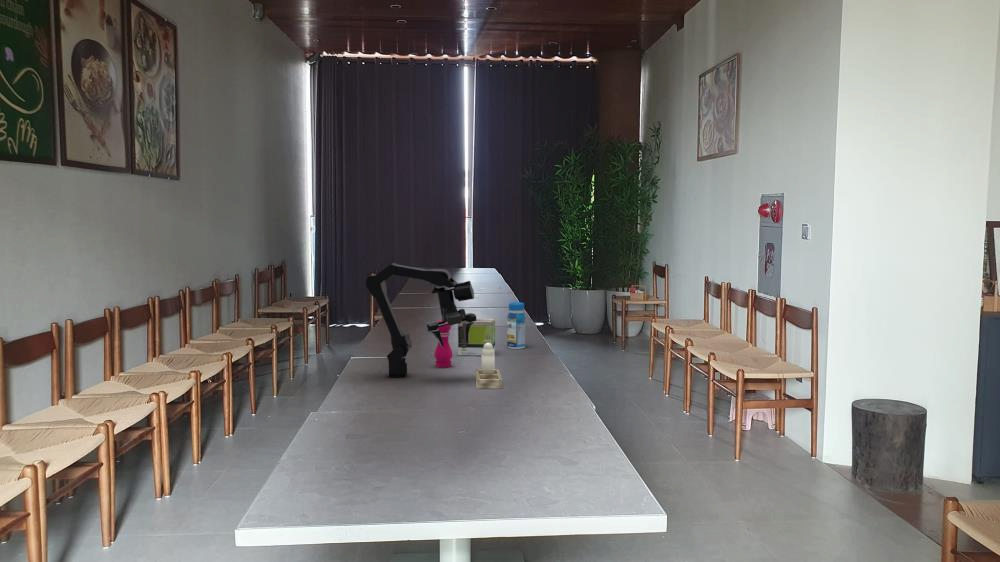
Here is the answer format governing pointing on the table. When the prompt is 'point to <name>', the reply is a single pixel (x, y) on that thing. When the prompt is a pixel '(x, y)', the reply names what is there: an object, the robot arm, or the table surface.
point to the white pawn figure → (487, 359)
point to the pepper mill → (443, 353)
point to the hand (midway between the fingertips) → (454, 344)
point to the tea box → (476, 337)
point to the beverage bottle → (516, 326)
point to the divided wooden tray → (488, 380)
